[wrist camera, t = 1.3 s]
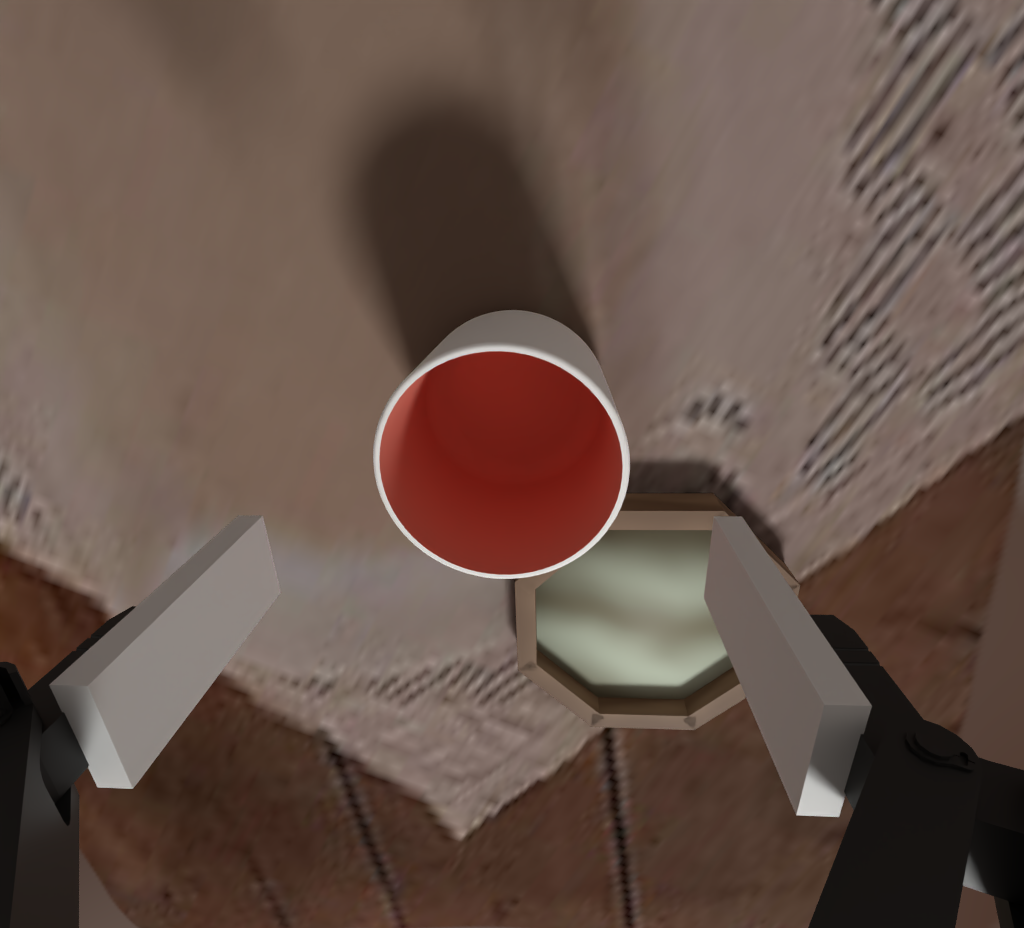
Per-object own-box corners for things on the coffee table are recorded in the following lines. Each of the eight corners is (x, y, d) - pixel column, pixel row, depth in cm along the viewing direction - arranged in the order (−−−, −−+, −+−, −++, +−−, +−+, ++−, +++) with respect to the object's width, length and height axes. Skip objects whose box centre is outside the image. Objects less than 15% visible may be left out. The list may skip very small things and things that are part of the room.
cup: (462, 275, 28) (418, 296, 18) (637, 352, 29) (679, 408, 19) (402, 442, 32) (342, 528, 22) (559, 505, 33) (563, 612, 23)
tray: (514, 493, 32) (512, 510, 30) (798, 493, 31) (815, 510, 29) (521, 699, 39) (519, 724, 37) (757, 705, 38) (769, 731, 36)
